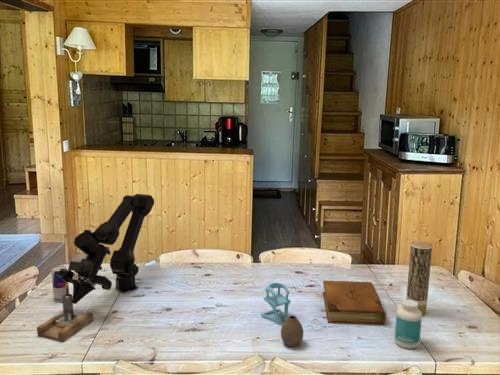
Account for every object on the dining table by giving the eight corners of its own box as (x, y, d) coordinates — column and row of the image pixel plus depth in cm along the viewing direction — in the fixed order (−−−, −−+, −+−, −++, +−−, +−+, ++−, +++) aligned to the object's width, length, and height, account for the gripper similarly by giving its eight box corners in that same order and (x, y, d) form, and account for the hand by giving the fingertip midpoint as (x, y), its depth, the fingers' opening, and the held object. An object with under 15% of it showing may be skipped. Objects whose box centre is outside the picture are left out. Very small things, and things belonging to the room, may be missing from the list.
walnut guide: (69, 315, 158) (68, 306, 157) (93, 321, 154) (92, 312, 154) (37, 335, 145) (36, 326, 144) (62, 342, 142) (62, 332, 141)
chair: (274, 326, 151) (275, 293, 149) (260, 316, 158) (261, 283, 156) (293, 320, 156) (294, 287, 153) (278, 310, 162) (279, 278, 160)
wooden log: (425, 309, 164) (432, 242, 158) (426, 318, 157) (432, 248, 152) (405, 306, 166) (411, 240, 160) (405, 314, 160) (411, 246, 154)
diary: (384, 327, 153) (386, 311, 151) (327, 324, 154) (328, 309, 153) (372, 295, 175) (373, 281, 174) (322, 293, 176) (323, 279, 175)
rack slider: (68, 317, 155) (66, 290, 153) (83, 320, 153) (80, 293, 151) (55, 325, 149) (52, 298, 147) (70, 329, 147) (67, 301, 145)
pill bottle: (423, 349, 139) (427, 308, 136) (399, 350, 138) (403, 309, 135) (413, 336, 146) (416, 296, 143) (390, 337, 145) (393, 297, 142)
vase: (279, 337, 145) (279, 312, 143) (300, 336, 145) (301, 311, 143) (282, 350, 138) (282, 323, 136) (305, 349, 139) (305, 322, 137)
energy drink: (64, 302, 167) (61, 271, 165) (50, 301, 168) (47, 270, 166) (72, 296, 172) (69, 266, 170) (59, 295, 174) (56, 265, 171)
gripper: (59, 246, 157) (36, 289, 149) (104, 253, 150) (83, 299, 142) (77, 260, 166) (56, 302, 158) (120, 268, 159) (101, 311, 151)
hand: (73, 303), depth 152 cm, fingers closed
